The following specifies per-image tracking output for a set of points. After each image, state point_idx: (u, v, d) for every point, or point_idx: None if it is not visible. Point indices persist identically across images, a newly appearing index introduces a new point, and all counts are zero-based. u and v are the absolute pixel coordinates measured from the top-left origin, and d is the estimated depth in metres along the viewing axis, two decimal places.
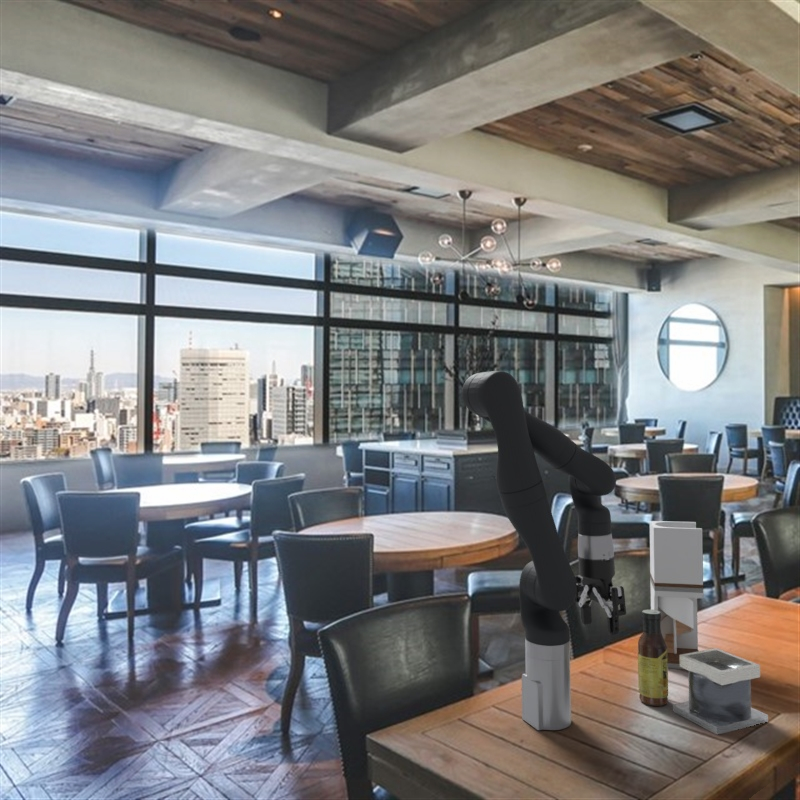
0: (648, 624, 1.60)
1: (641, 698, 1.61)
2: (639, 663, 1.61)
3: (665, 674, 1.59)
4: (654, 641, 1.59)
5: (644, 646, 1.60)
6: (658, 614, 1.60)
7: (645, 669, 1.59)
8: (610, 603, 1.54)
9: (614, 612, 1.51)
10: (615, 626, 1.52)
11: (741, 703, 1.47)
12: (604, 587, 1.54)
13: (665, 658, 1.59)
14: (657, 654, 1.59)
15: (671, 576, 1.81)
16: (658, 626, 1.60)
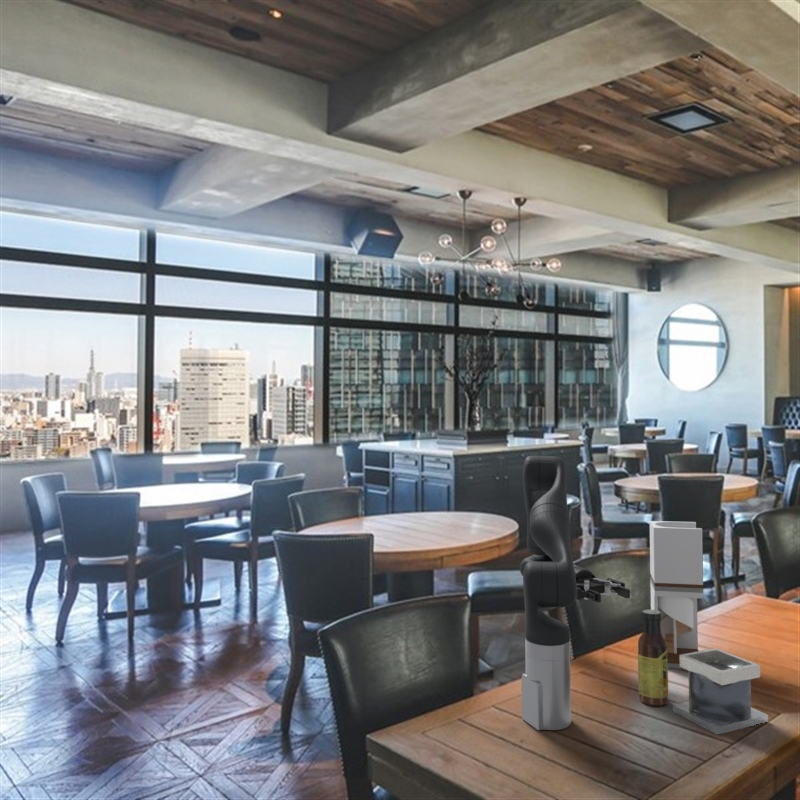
0: (648, 624, 1.60)
1: (641, 698, 1.61)
2: (639, 663, 1.61)
3: (665, 674, 1.59)
4: (654, 641, 1.59)
5: (644, 646, 1.60)
6: (658, 614, 1.60)
7: (645, 669, 1.59)
8: None
9: (621, 582, 1.81)
10: None
11: (741, 703, 1.47)
12: None
13: (665, 658, 1.59)
14: (657, 654, 1.59)
15: (671, 576, 1.81)
16: (658, 626, 1.60)
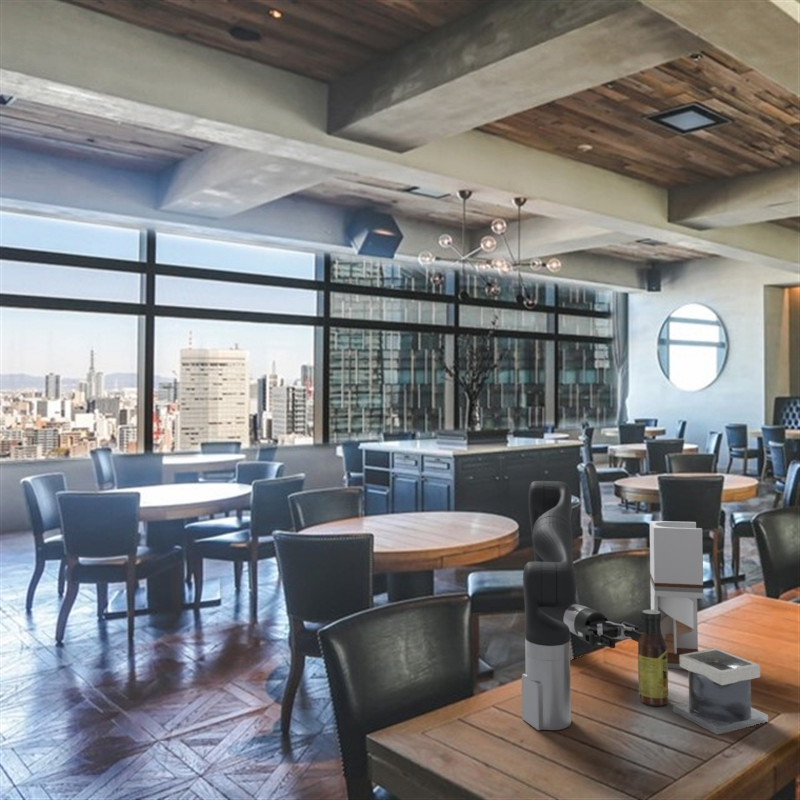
0: (648, 624, 1.60)
1: (641, 698, 1.61)
2: (639, 663, 1.61)
3: (665, 674, 1.59)
4: (654, 641, 1.59)
5: (644, 646, 1.60)
6: (658, 614, 1.60)
7: (645, 669, 1.59)
8: None
9: (634, 626, 1.76)
10: None
11: (741, 703, 1.47)
12: None
13: (665, 658, 1.59)
14: (657, 654, 1.59)
15: (671, 576, 1.81)
16: (658, 626, 1.60)
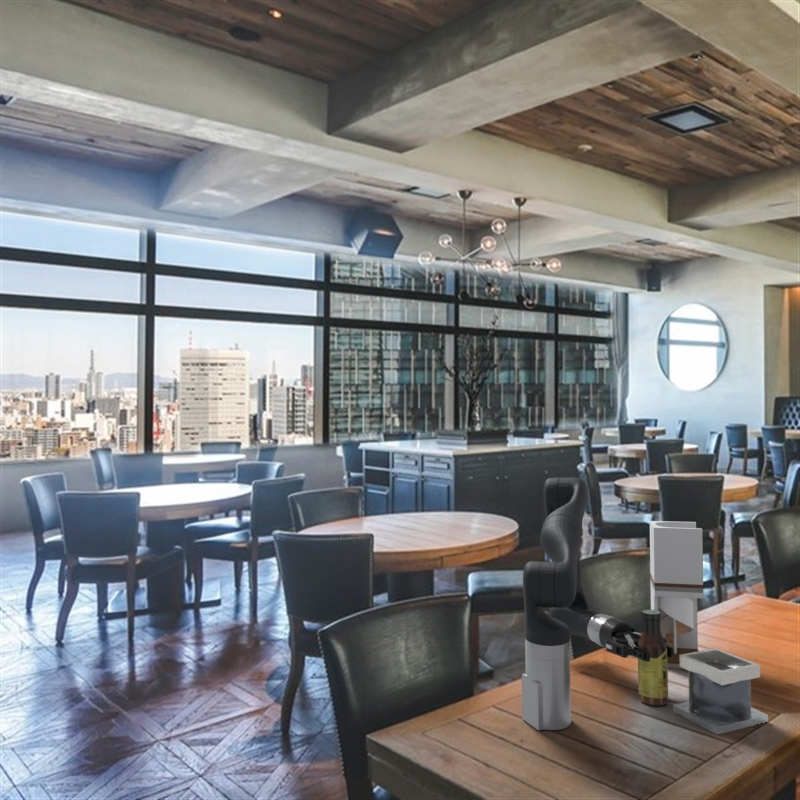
0: (648, 624, 1.60)
1: (641, 698, 1.61)
2: (639, 663, 1.61)
3: (665, 674, 1.59)
4: (653, 641, 1.59)
5: (644, 646, 1.60)
6: (658, 614, 1.60)
7: (645, 669, 1.59)
8: None
9: None
10: None
11: (741, 703, 1.47)
12: None
13: (665, 658, 1.59)
14: (657, 654, 1.59)
15: (671, 576, 1.81)
16: (658, 626, 1.60)
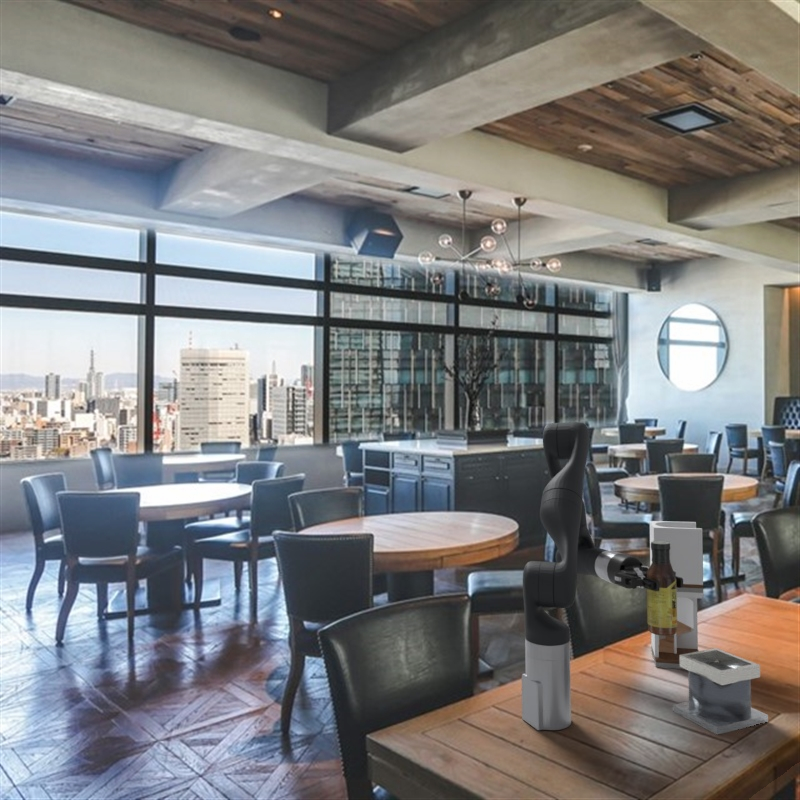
0: (657, 554, 1.59)
1: (650, 629, 1.59)
2: (648, 594, 1.60)
3: (674, 604, 1.58)
4: (663, 571, 1.58)
5: (653, 576, 1.59)
6: (667, 544, 1.59)
7: (654, 600, 1.58)
8: None
9: None
10: None
11: (741, 703, 1.47)
12: None
13: (674, 588, 1.58)
14: (666, 584, 1.57)
15: None
16: (667, 556, 1.59)
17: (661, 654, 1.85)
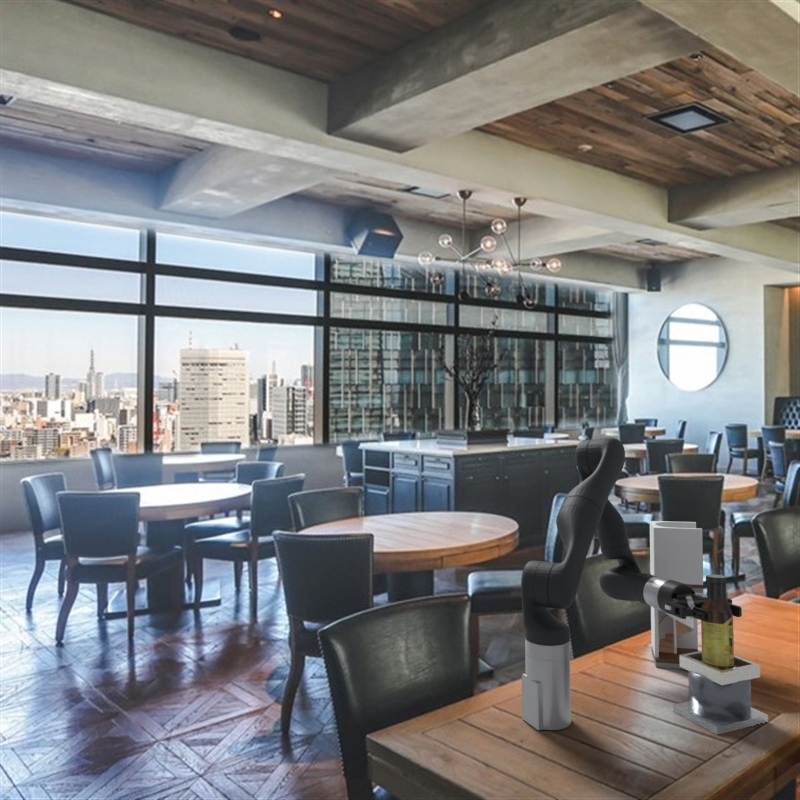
0: (713, 588, 1.53)
1: None
2: (703, 630, 1.53)
3: (731, 641, 1.51)
4: (719, 606, 1.52)
5: None
6: (724, 578, 1.53)
7: (710, 636, 1.52)
8: None
9: (727, 599, 1.59)
10: None
11: (741, 703, 1.47)
12: None
13: (731, 624, 1.51)
14: (723, 620, 1.51)
15: (671, 576, 1.81)
16: (724, 591, 1.53)
17: (661, 654, 1.85)
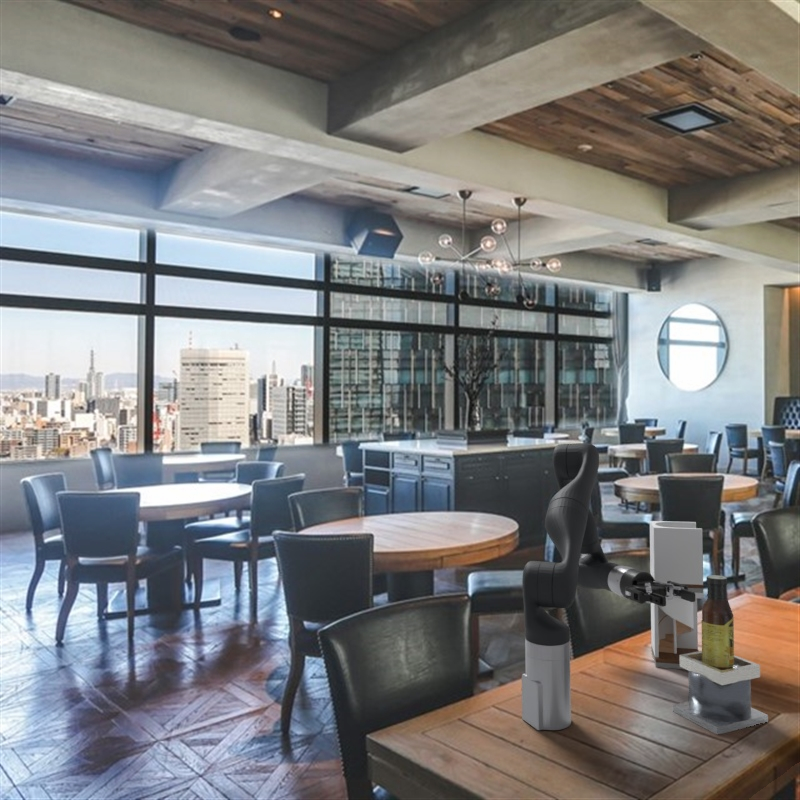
0: (714, 589, 1.52)
1: None
2: (703, 631, 1.53)
3: (731, 642, 1.51)
4: (720, 607, 1.51)
5: (710, 612, 1.52)
6: (724, 579, 1.52)
7: (710, 637, 1.51)
8: None
9: (683, 585, 1.71)
10: None
11: (741, 703, 1.47)
12: None
13: (732, 625, 1.51)
14: (724, 621, 1.50)
15: (671, 576, 1.81)
16: (724, 592, 1.52)
17: (661, 654, 1.85)
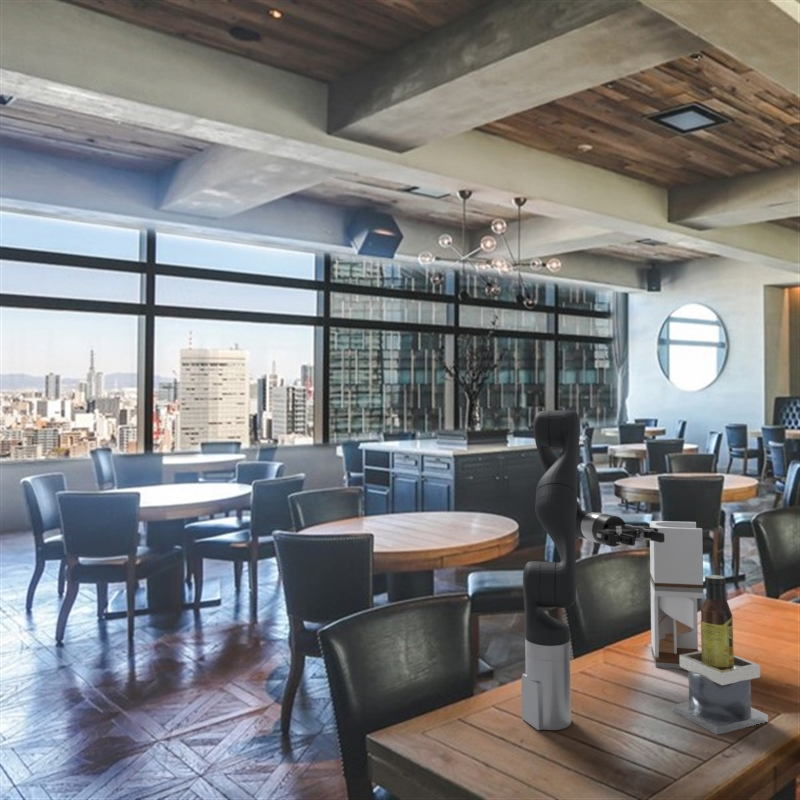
0: (712, 589, 1.53)
1: None
2: (703, 631, 1.53)
3: (731, 642, 1.51)
4: (719, 607, 1.51)
5: (708, 612, 1.52)
6: (723, 579, 1.52)
7: (709, 637, 1.51)
8: None
9: (654, 528, 1.74)
10: None
11: (741, 703, 1.47)
12: None
13: (731, 625, 1.51)
14: (723, 621, 1.51)
15: (671, 576, 1.81)
16: (723, 591, 1.52)
17: (661, 654, 1.85)
